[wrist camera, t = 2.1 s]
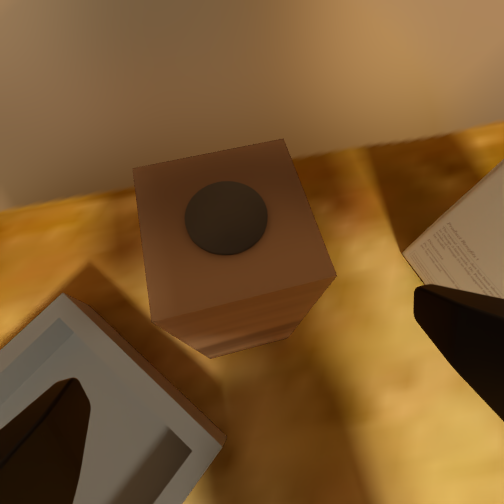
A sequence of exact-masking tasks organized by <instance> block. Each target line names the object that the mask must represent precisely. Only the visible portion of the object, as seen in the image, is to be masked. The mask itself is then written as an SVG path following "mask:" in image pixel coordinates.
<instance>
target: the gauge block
mask: <svg viewBox="0 0 504 504" xmlns="http://www.w3.org/2000/svg"><path fill="white" fill-rule="evenodd" d="M133 176H134V184H135V192H136V200H137V208H138V216H139V224H140V232H141V240H142V248H143V257H144V265H145V273H146V281H147V289H148V297H149V305H150V313H151V321H152V323H154V324H155V325H157V326H158V327H160V328H162V329H163V330H165V331H166V332H168V333H170V334H171V335H173V336H174V337H176V338H178V339H179V340H181V341H183V342H184V343H186V344H187V345H189V346H191V347H192V348H194V349H195V350H197V351H199V352H200V353H202V354H203V355H205V356H207V357H208V358H210V359H211V358H215V357H219V356H223V355H226V354H230V353H234V352H237V351H241V350H245V349H249V348H252V347H256V346H260V345H264V344H267V343H271V342H275V341H278V340H282V339H286V338H288V337H289V336H290V335H291V333H292V332H293V331H294V329H295V328H296V327H297V326H298V324H299V323H300V322H301V321H302V319H303V318H304V317H305V316H306V314H307V313H308V312H309V311H310V309H311V308H312V307H313V305H314V304H315V303H316V302H317V300H318V299H319V298H320V297H321V295H322V294H323V293H324V292H325V290H326V289H327V288H328V286H329V285H330V284H331V283H332V281H333V280H334V279H335V278H336V276H337V275H336V272H335V270H334V267H333V264H332V262H331V259H330V257H329V254H328V252H327V249H326V246H325V244H324V241H323V239H322V236H321V234H320V231H319V229H318V226H317V223H316V221H315V218H314V216H313V213H312V211H311V208H310V205H309V203H308V200H307V198H306V195H305V193H304V190H303V188H302V185H301V182H300V180H299V177H298V175H297V172H296V170H295V167H294V164H293V162H292V159H291V157H290V154H289V152H288V149H287V147H286V144H285V142H284V139H279V140H274V141H269V142H264V143H259V144H253V145H248V146H244V147H238V148H233V149H228V150H223V151H219V152H213V153H208V154H203V155H198V156H193V157H188V158H183V159H177V160H173V161H167V162H162V163H158V164H152V165H148V166H142V167H138V168H133Z"/></svg>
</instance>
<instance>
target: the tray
mask: <svg viewBox="0 0 504 504" xmlns="http://www.w3.org/2000/svg"><path fill="white" fill-rule="evenodd" d="M72 377H74V378H77V379H78V380H79V381H80V383H81V385H82V387H83V389H84V391H85V393H86V395H87V397H88V399H89V401H90V405H91V413H90V419H89V425H88V431H87V437H86V443H85V449H84V455H83V461H82V467H81V472H80V478H79V482H78V486H77V490H76V494H75V497H74V501H73V504H182V503H183V502H184V500H185V499H186V498H187V496H188V495H189V493H190V492H191V491H192V489H193V488H194V486H195V485H196V484H197V482H198V481H199V479H200V478H201V477H202V475H203V474H204V472H205V471H206V470H207V468H208V467H209V465H210V464H211V463H212V461H213V460H214V458H215V457H216V456H217V454H218V453H219V451H220V450H221V449H222V447H223V445H224V443H225V441H226V438H227V436H226V435H225V434H224V433H223V432H222V431H221V430H220V429H219V428H218V427H216V426H215V425H214V424H213V423H212V422H211V421H210V420H209V419H208V418H207V417H206V416H205V415H204V414H203V413H202V412H201V411H200V410H199V409H198V408H196V407H195V406H194V405H193V404H192V403H191V402H190V401H189V400H188V399H187V398H186V397H185V396H184V395H183V394H182V393H181V392H180V391H179V390H178V389H176V388H175V387H174V386H173V385H172V384H171V383H170V382H169V381H168V380H167V379H166V378H165V377H164V376H163V375H162V374H161V373H160V372H159V371H157V370H156V369H155V368H154V367H153V366H152V365H151V364H150V363H149V362H148V361H147V360H146V359H145V358H144V357H143V356H142V355H141V354H140V353H139V352H137V351H136V350H135V349H134V348H133V347H132V346H131V345H130V344H129V343H128V342H127V341H126V340H125V339H124V338H123V337H122V336H121V335H120V334H119V333H117V332H116V331H115V330H114V329H113V328H112V327H111V326H110V325H109V324H108V323H107V322H106V321H105V320H104V319H103V318H102V317H101V316H100V315H99V314H97V313H96V312H95V311H94V310H93V309H92V308H91V307H90V306H89V305H87V304H85V303H83V302H81V301H79V300H77V299H75V298H73V297H71V296H69V295H67V294H65V293H62V294H61V295H60V296H59V297H57V298H56V299H55V300H54V301H53V302H52V303H51V304H50V305H49V306H48V307H47V308H46V309H44V310H43V311H42V312H41V313H40V314H39V315H38V316H37V317H36V318H35V319H34V320H33V321H31V322H30V323H29V324H28V325H27V326H26V327H25V328H24V329H23V330H22V331H21V332H20V333H18V334H17V335H16V336H15V337H14V338H13V339H12V340H11V341H10V342H9V343H8V344H7V345H5V346H4V347H3V348H2V349H1V350H0V429H1V428H3V427H4V426H5V425H6V424H7V423H9V422H10V421H11V420H12V419H13V418H14V417H16V416H17V415H18V414H19V413H20V412H21V411H23V410H24V409H25V408H26V407H27V406H29V405H30V404H31V403H32V402H33V401H34V400H36V399H37V398H38V397H39V396H40V395H42V394H43V393H44V392H45V391H46V390H47V389H49V388H50V387H51V386H52V385H53V384H54V383H56V382H58V381H60V380H64V379H68V378H72Z"/></svg>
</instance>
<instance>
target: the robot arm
mask: <svg viewBox="0 0 504 504" xmlns="http://www.w3.org/2000/svg"><path fill="white" fill-rule="evenodd" d="M414 317H415V319H416V321H417V323H418V324H419V325H420V326H421V328H422V329H423V330H424V331H425V333H426V334H427V335H428V337H429V338H430V339H431V340H432V342H433V343H434V344H435V346H436V347H437V348H438V349H439V351H440V352H441V353H442V354H443V356H444V357H445V358H446V360H447V361H448V362H449V363H450V364H451V366H452V367H453V368H454V369H455V370H456V371H457V372H458V373H459V375H460V376H461V377H462V378H463V379H464V380H465V381H466V382H467V383H468V384H469V385H470V386H471V387H472V388H473V389H474V391H475V392H476V393H477V394H478V395H479V396H480V397H481V398H482V399H483V400H484V401H485V402H486V403H487V404H488V405H489V406H490V407H491V409H492V410H493V411H494V412H495V413H496V414H497V415H498V416H499V417H500V418H501V419H502V420H503V421H504V299H502V298H498V297H493V296H488V295H483V294H478V293H474V292H469V291H464V290H459V289H454V288H449V287H445V286H440V285H435V284H427V285H423V286H419V287H417V288H416V289H415V291H414ZM90 413H91V405H90V401H89V399H88V397H87V395H86V393H85V391H84V389H83V387H82V385H81V383H80V381H79V380H78V379H77V378H74V377H72V378H68V379H64V380H60V381H58V382H56V383H54V384H53V385H52V386H51V387H50V388H49V389H47V390H46V391H45V392H44V393H43V394H42V395H40V396H39V397H38V398H37V399H36V400H34V401H33V402H32V403H31V404H30V405H29V406H27V407H26V408H25V409H24V410H23V411H21V412H20V413H19V414H18V415H17V416H16V417H14V418H13V419H12V420H11V421H10V422H9V423H7V424H6V425H5V426H4V427H3V428H1V429H0V504H73V501H74V497H75V494H76V490H77V486H78V482H79V478H80V472H81V467H82V461H83V455H84V449H85V443H86V437H87V431H88V425H89V419H90Z"/></svg>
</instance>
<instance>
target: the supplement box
mask: <svg viewBox="0 0 504 504" xmlns="http://www.w3.org/2000/svg"><path fill="white" fill-rule="evenodd" d="M402 254H403V256H404V257H405V258H406V260H407V261H408V262H409V263H410V265H411V266H412V267H413V269H414V270H415V271H416V273H417V274H418V275H419V277H420V278H421V279H422V281H423V282H424V283H425V285H427V284H435V285H440V286H445V287H449V288H454V289H459V290H464V291H469V292H474V293H478V294H483V295H488V296H493V297H498V298H502V299H504V159H503V160H502V161H501V162H500V163H499V164H498V165H497V166H496V167H495V168H493V169H492V170H491V171H490V172H489V173H488V174H487V175H486V176H485V177H484V178H483V179H481V180H480V181H479V182H478V183H477V184H476V185H475V186H474V187H473V188H471V189H470V190H469V191H468V192H467V193H466V194H465V195H464V196H462V197H461V198H460V199H459V200H458V201H457V202H456V203H455V204H454V205H453V206H451V207H450V208H449V209H448V210H447V211H446V212H445V213H444V214H443V215H442V216H440V217H439V218H438V219H437V220H436V221H435V222H434V223H433V224H432V225H431V226H430V227H428V228H427V229H426V230H425V231H424V232H423V233H422V234H421V235H420V236H419V237H418V238H417V239H416V240H415V241H414V242H413V243H412V244H411V245H409V246H408V247H407V248H406V249H405V250H404V251H403V253H402Z"/></svg>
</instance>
